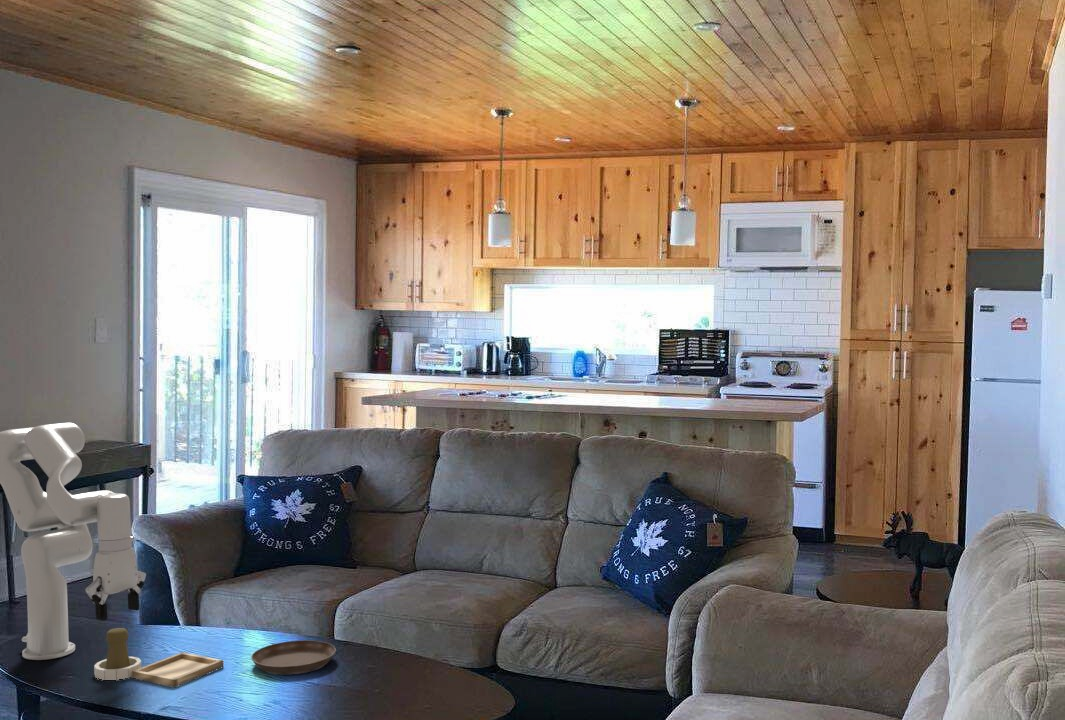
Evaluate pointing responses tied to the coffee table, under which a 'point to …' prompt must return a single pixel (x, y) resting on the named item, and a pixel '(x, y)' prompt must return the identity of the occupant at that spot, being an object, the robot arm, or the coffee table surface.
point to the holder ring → (116, 670)
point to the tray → (177, 669)
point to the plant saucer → (293, 657)
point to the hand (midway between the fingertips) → (118, 614)
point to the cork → (117, 649)
